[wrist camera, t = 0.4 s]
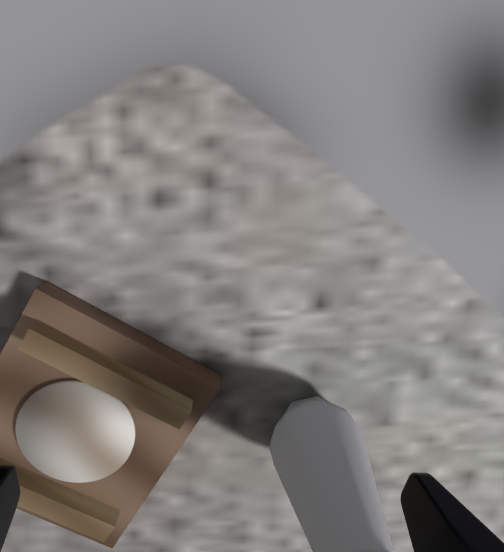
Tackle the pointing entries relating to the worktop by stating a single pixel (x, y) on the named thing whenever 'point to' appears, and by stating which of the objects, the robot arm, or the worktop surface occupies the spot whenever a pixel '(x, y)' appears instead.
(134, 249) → the worktop surface
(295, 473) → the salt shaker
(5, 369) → the stand
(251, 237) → the worktop surface
